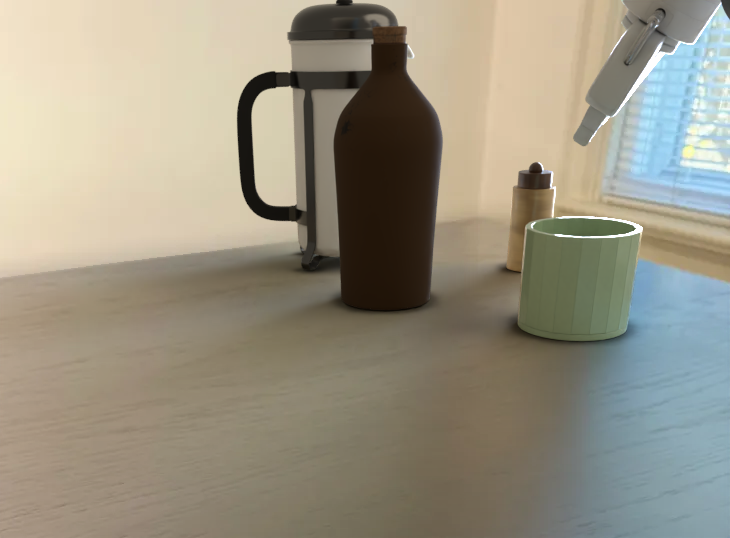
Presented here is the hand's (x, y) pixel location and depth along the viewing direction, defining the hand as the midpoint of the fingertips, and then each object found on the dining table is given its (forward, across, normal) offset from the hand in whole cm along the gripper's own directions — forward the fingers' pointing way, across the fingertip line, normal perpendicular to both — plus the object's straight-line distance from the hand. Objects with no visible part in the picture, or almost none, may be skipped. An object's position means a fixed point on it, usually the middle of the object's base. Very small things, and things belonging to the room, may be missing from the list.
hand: (587, 132), depth 99 cm
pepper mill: (+14, -5, -3) cm, 16 cm away
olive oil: (+18, -24, +8) cm, 31 cm away
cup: (+8, -27, -10) cm, 30 cm away
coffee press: (+25, -9, +18) cm, 32 cm away
